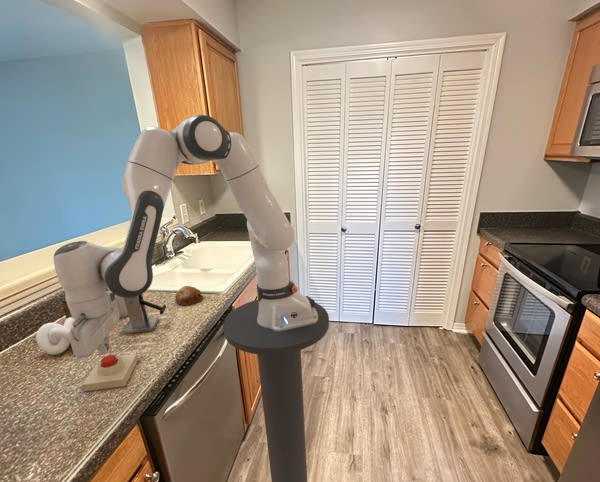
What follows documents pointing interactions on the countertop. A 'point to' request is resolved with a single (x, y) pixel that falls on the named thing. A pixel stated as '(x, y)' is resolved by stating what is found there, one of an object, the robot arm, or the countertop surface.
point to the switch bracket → (138, 317)
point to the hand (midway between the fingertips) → (105, 351)
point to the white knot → (54, 337)
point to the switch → (153, 305)
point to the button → (108, 361)
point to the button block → (111, 373)
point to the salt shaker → (121, 306)
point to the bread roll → (188, 295)
